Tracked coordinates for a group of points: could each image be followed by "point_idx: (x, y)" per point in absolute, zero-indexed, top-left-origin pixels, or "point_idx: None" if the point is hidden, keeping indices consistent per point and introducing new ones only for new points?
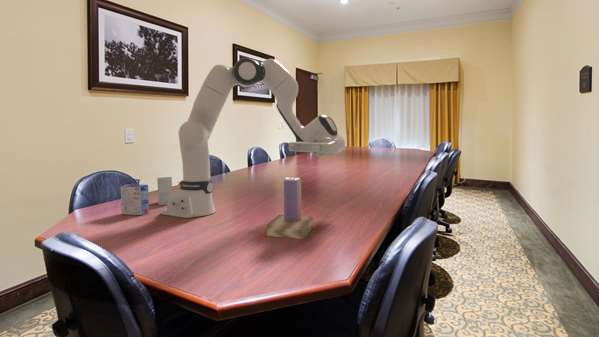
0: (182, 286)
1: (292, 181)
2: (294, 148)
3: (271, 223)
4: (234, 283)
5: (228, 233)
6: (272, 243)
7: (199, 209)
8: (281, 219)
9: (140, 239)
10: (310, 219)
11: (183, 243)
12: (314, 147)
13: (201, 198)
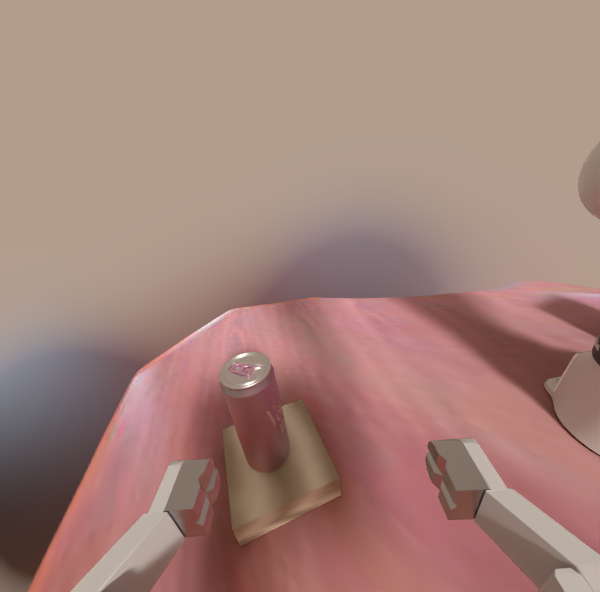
0: (274, 306)
1: (235, 360)
2: (445, 500)
3: (297, 407)
4: (240, 323)
5: (370, 383)
6: None
7: (565, 397)
8: (299, 443)
9: (424, 314)
10: (230, 496)
11: (371, 333)
12: (155, 513)
13: (586, 382)
